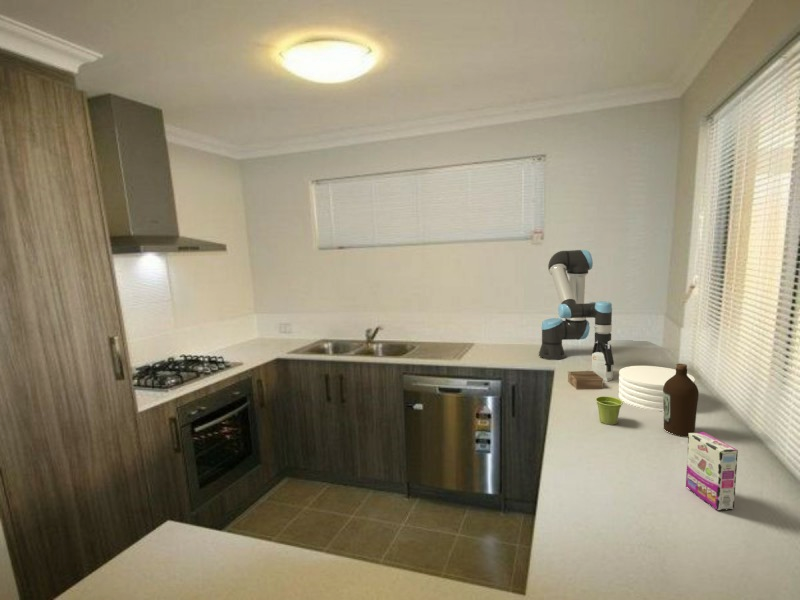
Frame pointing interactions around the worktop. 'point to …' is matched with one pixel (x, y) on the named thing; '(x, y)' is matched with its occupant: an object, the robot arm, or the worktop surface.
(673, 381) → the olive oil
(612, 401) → the plant pot
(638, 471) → the worktop surface
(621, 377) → the plate stack
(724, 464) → the candy bar box
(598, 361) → the small box
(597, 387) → the block
